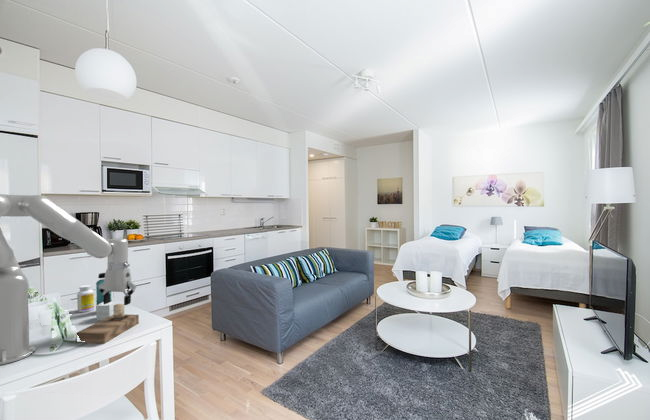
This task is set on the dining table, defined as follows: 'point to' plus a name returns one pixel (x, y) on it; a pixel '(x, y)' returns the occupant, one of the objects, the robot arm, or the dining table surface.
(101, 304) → the skincare box
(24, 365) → the dining table surface
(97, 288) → the beverage bottle
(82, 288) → the supplement bottle
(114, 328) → the walnut board
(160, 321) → the dining table surface
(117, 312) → the beech peg
